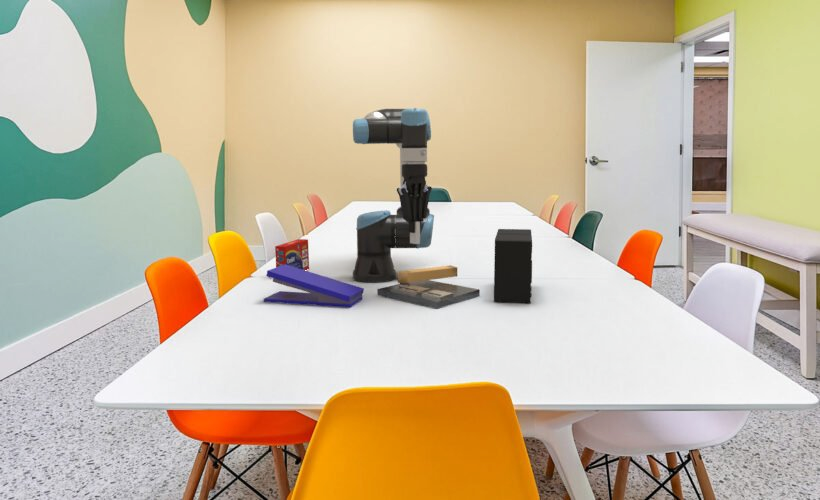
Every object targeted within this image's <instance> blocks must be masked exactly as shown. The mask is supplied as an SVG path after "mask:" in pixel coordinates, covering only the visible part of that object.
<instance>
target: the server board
mask: <svg viewBox="0 0 820 500" xmlns="http://www.w3.org/2000/svg"><path fill="white" fill-rule="evenodd" d="M376 291H377V294H376V295H377V297H378V296H379V297H383V298H388V299H392V300H397V301H401V302H406V303H410V304H414V305H418V306H419V305H420V306H424V307H428V308H431V309H432V308H433V309H437V310H438V309H440V308H444V307H448V306H452V305H455V304H457V303H461V302H464V301H468V300H471V299H475V298H477V297H480V295H481V294H480V289H479V288H473V287H468V286H462V285H457V284H452V283H451V284H450V283H445V282H441V281H435V280H425V281H417V282H411V283H405V284H403V283H397V284H393V285H389V286H384V287H381V288H377V290H376Z"/></svg>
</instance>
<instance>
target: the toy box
mask: <svg viewBox="0 0 820 500" xmlns="http://www.w3.org/2000/svg"><path fill="white" fill-rule="evenodd" d="M274 250H275V268H277V267H279V266H282V265H285V264H286V265H289V266H292V267H296V268H299V269H302V270H307V269H309V270H310V257H309V255H310V254H309V253H310V252H309V239H308V238H307V239H303V238H298V239H295V240H291V241H287V242H285V243H281V244H279V245H275V247H274ZM307 271H308V270H307Z"/></svg>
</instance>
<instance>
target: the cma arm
mask: <svg viewBox="0 0 820 500" xmlns="http://www.w3.org/2000/svg"><path fill="white" fill-rule="evenodd" d="M456 277H458V267H457V266H453V265H442V266H434V267H424V268H416V269H415V268H414V269H409V270H408V269H407V270H400V271H398V272H397V284H399V283H403V284H405V283H411V282H417V281H425V280H431V281H434V280H438V279H439V280H440V279H441V280H442V279H447V278H448V279H449V278H456Z"/></svg>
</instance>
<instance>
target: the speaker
mask: <svg viewBox="0 0 820 500" xmlns="http://www.w3.org/2000/svg"><path fill="white" fill-rule="evenodd" d="M532 237H533V236H532V229H528V228H527V229H523V228H522V229H521V228H519V229H518V228H516V229H515V228H514V229H513V228H512V229H511V228H498V229H497V232H496V235H495V238H494V265H493V267H494V271H493V273H494V275H493V302H496V303H500V302H501V303H502V302H503V303H506V302H507V303H508V302H509V303H524V304H529V303H531V298H532V282H533V260H532V257H533V256H532V255H533V238H532Z"/></svg>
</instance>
